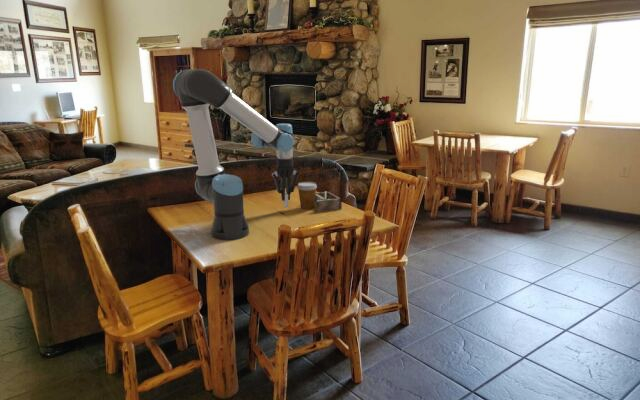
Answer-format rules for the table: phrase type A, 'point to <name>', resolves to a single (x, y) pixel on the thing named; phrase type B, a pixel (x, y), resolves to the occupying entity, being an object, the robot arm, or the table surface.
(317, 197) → the gauge plunger
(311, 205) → the disposable coffee cup
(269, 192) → the table surface
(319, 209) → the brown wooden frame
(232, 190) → the robot arm
